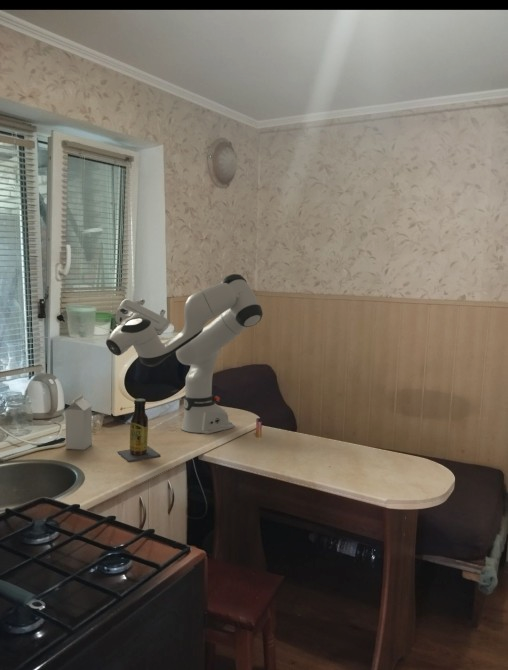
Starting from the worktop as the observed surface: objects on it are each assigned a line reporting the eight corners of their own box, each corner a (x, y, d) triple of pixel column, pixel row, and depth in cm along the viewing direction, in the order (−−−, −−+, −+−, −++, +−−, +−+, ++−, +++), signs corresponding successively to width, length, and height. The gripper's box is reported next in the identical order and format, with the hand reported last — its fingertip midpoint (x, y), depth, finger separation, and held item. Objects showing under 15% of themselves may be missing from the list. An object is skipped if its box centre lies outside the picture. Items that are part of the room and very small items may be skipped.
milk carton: (92, 444, 208) (91, 395, 205) (84, 450, 201) (83, 399, 198) (74, 443, 208) (73, 394, 206) (65, 449, 201) (65, 398, 199)
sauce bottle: (126, 453, 197) (125, 399, 194) (138, 449, 202) (138, 396, 199) (139, 457, 193) (139, 402, 191) (151, 452, 198) (151, 399, 196)
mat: (148, 447, 205) (148, 446, 205) (160, 456, 196) (160, 454, 196) (117, 452, 199) (117, 451, 199) (128, 462, 190) (128, 460, 190)
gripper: (160, 331, 206) (177, 311, 216) (113, 306, 207) (132, 289, 218) (157, 342, 210) (174, 323, 220) (111, 318, 212) (130, 300, 222)
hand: (153, 306), depth 219 cm, fingers open, 8 cm apart
